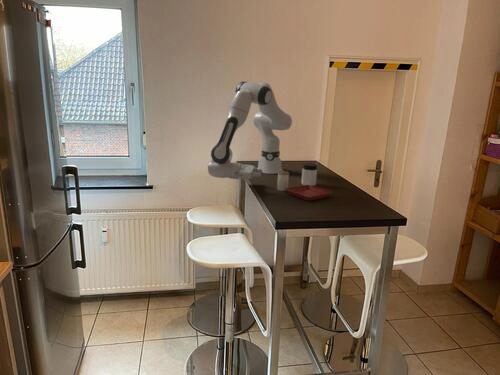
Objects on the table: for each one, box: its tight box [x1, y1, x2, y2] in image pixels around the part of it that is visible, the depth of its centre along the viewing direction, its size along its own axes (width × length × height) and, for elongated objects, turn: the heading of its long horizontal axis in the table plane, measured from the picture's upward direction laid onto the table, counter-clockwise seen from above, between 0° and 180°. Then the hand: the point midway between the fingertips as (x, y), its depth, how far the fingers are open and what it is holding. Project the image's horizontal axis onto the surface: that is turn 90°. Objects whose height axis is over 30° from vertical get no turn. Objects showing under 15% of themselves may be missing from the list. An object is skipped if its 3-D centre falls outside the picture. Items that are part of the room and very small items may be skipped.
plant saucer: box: [285, 184, 332, 201], centre depth 209 cm, size 18×18×3 cm
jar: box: [300, 162, 318, 187], centre depth 231 cm, size 9×8×12 cm
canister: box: [276, 170, 290, 192], centre depth 217 cm, size 6×6×10 cm
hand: (261, 172), depth 217 cm, fingers open, 8 cm apart
